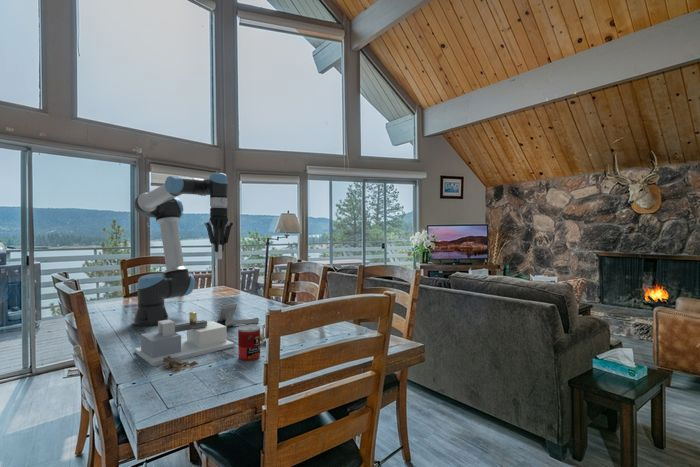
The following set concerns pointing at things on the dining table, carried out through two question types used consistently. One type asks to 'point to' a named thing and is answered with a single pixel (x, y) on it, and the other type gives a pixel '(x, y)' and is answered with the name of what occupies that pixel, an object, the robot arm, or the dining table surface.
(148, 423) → the dining table surface
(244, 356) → the canned food
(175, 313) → the dining table surface
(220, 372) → the dining table surface
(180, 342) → the white stepped platform
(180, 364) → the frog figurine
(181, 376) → the dining table surface
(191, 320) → the bolt
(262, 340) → the door knob
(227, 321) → the door handle
